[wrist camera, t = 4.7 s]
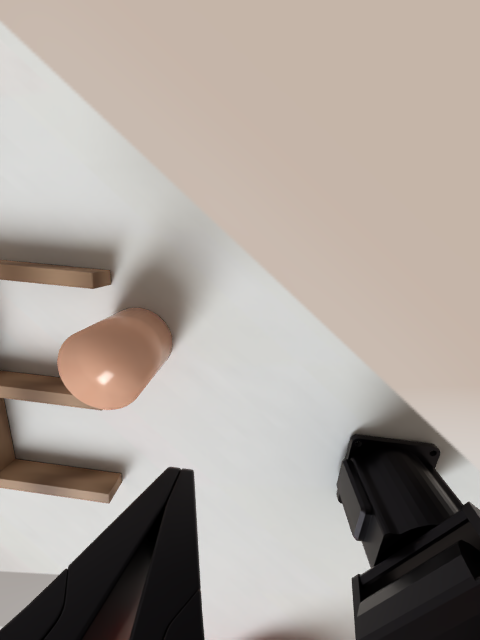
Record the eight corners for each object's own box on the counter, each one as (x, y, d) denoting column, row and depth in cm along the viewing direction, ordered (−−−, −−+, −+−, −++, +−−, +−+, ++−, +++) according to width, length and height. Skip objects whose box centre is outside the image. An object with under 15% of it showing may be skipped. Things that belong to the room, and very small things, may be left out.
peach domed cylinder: (174, 313, 18) (145, 337, 14) (170, 374, 20) (142, 415, 15) (106, 303, 18) (54, 323, 14) (107, 364, 20) (60, 402, 15)
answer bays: (110, 270, 18) (88, 273, 16) (121, 482, 23) (107, 507, 21) (-37, 256, 18) (-78, 257, 16) (7, 466, 24) (-20, 488, 21)
